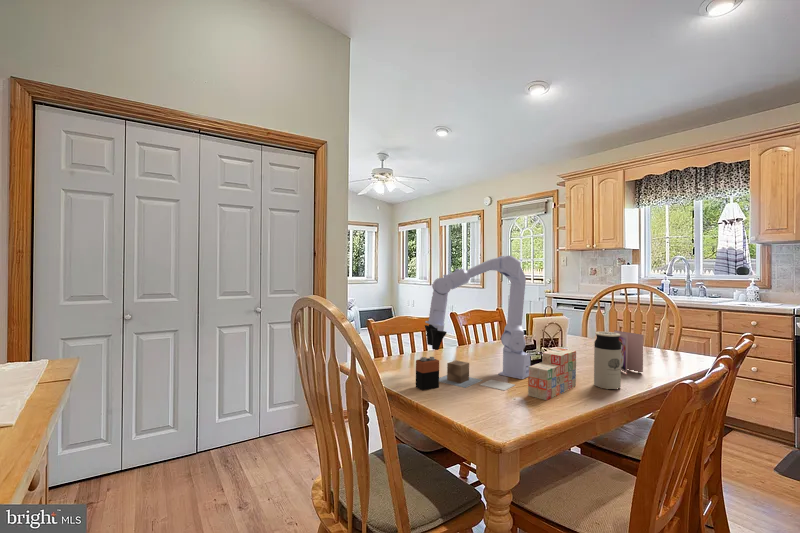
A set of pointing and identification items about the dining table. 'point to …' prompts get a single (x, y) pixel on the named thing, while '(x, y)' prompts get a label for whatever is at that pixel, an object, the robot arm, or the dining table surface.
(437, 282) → the robot arm
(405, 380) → the dining table surface
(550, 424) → the dining table surface
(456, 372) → the walnut block
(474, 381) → the blue-gray square plate
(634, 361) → the greeting card
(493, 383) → the rubber mat
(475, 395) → the dining table surface
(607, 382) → the travel mug
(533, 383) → the stack of blocks
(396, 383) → the dining table surface
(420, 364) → the battery
